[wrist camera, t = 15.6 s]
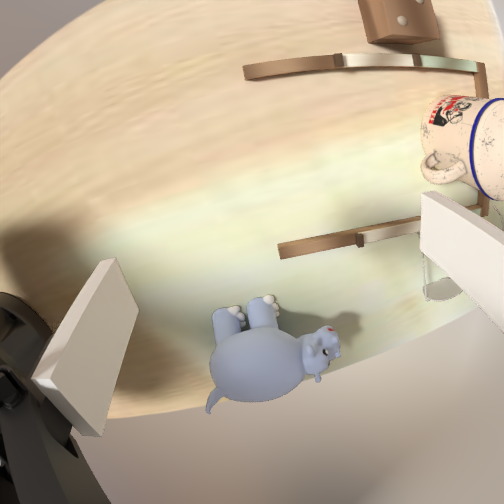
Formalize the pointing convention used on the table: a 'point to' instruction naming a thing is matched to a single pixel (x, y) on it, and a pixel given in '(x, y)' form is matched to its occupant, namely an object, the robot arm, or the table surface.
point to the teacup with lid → (465, 143)
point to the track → (367, 60)
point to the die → (399, 21)
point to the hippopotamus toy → (264, 354)
